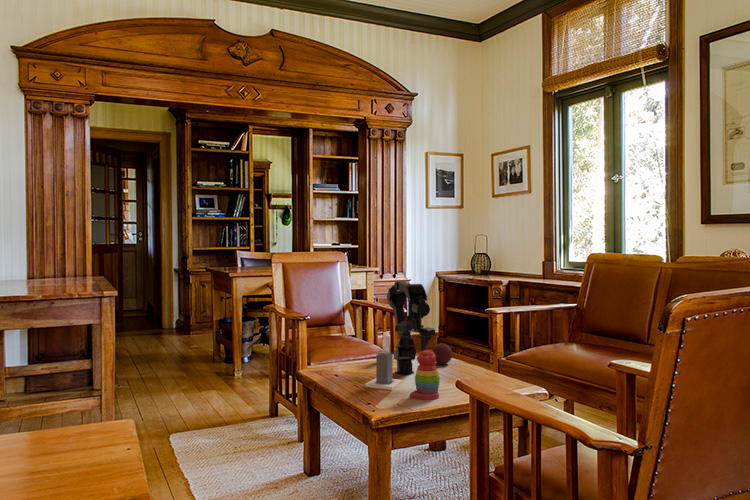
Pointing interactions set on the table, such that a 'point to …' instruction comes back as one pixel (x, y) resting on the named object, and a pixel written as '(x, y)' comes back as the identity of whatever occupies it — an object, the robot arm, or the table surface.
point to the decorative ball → (442, 353)
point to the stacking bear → (426, 377)
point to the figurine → (386, 343)
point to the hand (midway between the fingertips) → (414, 350)
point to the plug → (384, 368)
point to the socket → (392, 386)
